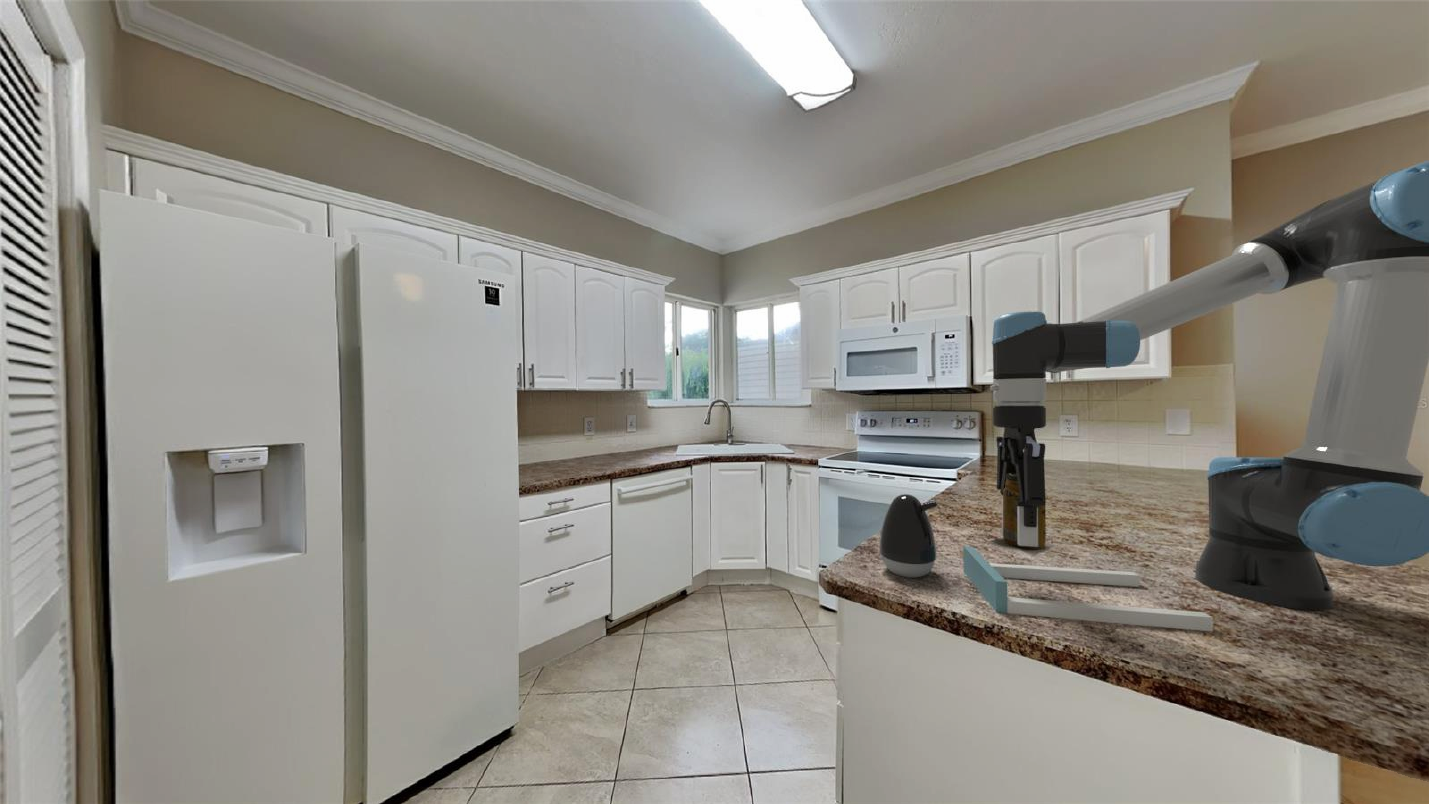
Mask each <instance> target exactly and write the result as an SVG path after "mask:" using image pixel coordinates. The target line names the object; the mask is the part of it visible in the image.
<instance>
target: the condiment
mask: <svg viewBox="0 0 1429 804" xmlns="http://www.w3.org/2000/svg"><path fill="white" fill-rule="evenodd" d="M1005 477H1006V483H1005V486H1006V487H1005V489H1004V490H1003V495H1002V496H1003V533H1002V537H999V538H995V539H992V540H989V541H986V542H985V543H986V544H989V545H991V546H995V547H999V548H1002V549H1006V550H1008V551H1012V552H1018V553H1021V554H1027V555H1031V556H1036V555H1038V554H1040V553H1042V552H1045V551H1048V550H1051V549H1052V548H1054V547H1056V546H1057V545H1056V544H1052V543H1047V542H1046V536H1047V535H1046V534H1047V533H1046V532H1047V530H1046V529H1047V528H1046V526H1047V525H1046V516H1047V515H1046V511H1047V510H1046V505H1047V504H1045V506H1040V507H1038V547H1034V546H1019V545H1018V538H1017V506H1016V505H1015V503H1017V502H1020V497H1019V490H1018V482H1017V474H1016V473H1008V474H1006V476H1005ZM1046 500H1047V499H1046V497H1045V501H1046ZM1046 502H1047V501H1046Z"/></svg>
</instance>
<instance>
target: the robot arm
mask: <svg viewBox="0 0 1429 804" xmlns="http://www.w3.org/2000/svg"><path fill="white" fill-rule="evenodd" d="M1321 279H1327V280H1329V281H1330V282H1331V283H1333V284H1334V285H1335V286H1336V291H1335V295H1334V301H1333V306H1332V310H1331V315H1330V317H1329V318H1330V319H1329V323H1328V328H1327V332H1326V333H1327V334H1326V337H1325V342H1324V346H1323V350H1322V355H1321V361H1320V365H1319V369H1318V373H1317V378H1316V382H1315V383H1316V384H1315V388H1314V391H1313V398H1312V401H1311V406H1310V410H1309V415H1308V419H1307V424H1306V428H1305V433H1304V437H1303V438H1304V439H1303V442H1302V445H1301V446H1300V447H1298V448H1296V449H1294V450H1292V451H1289V452H1287V453H1285V454H1284V455H1283V457H1249V456H1248V457H1241V456H1240V457H1239V456H1238V457H1236V456H1233V457H1231V456H1230V457H1229V456H1228V457H1223V456H1221V457H1215V458H1213V459H1212V460H1211V461H1210V463H1209V466H1208V473H1207V475H1206V479H1207V482H1208V524H1209V525H1208V533H1209V534H1208V535H1209V536H1208V540H1207V543H1206V544H1205V547H1204V548H1203V550H1202V553H1201V555H1200V557H1199V560H1198V561H1197V563H1196V565H1195V570H1194V571H1195V579H1196V581H1197V582H1198V583H1200V584H1201V585H1204V586H1205V587H1208V588H1210V589H1212V590H1215V591H1217V592H1220V593H1223V594H1226V595H1229V596H1233V597H1236V598H1239V599H1244V600H1248V601H1252V602H1256V603H1261V604H1264V605H1270V606H1277V607H1283V608H1285V609H1293V610H1301V611H1302V610H1303V611H1325V610H1330V609H1332V608H1333V607H1334V591H1333V589H1332V587H1331V586H1330V584H1329V582H1328V579H1327V576H1326V575H1325V572H1324V570H1323V568H1322V567H1321V565H1320V563H1319V560H1318V558H1317V556H1316V554H1319V555H1321V556H1323V557H1326V558H1329V559H1336V560H1338V561H1344V562H1348V563H1350V564H1355V565H1359V566H1363V567H1365V566H1366V567H1374V568H1375V567H1378V568H1379V567H1383V568H1384V567H1393V566H1401V565H1403V564H1404V565H1405V564H1406V563H1408V562H1411V561H1413V560H1418V559H1421V558H1423V557H1424V556H1426V555H1428V554H1429V495H1427V494H1426V493H1425V492H1422V490H1421V488H1422V484H1423V478H1424V473H1423V472H1422V471H1421V470H1419V468H1417V467H1416V466H1414V465H1413V464H1412V463H1410V462H1409V461H1408V458H1407V455H1408V452H1409V447H1410V443H1411V438H1412V434H1413V430H1414V425H1415V421H1416V417H1417V411H1418V408H1419V403H1420V399H1421V394H1422V391H1423V386H1424V381H1425V377H1426V373H1427V369H1428V364H1429V160H1426V161H1423V162H1421V163H1417V164H1415V165H1412V166H1409V167H1406V168H1402V169H1399V170H1394V171H1392V172H1389V174H1386V175H1384V176H1383V177H1381V178H1380V179H1378V180H1376V181H1373V182H1371V183H1369V184H1366V185H1364V186H1361V187H1359V188H1357V189H1354V190H1352V191H1349V192H1347V193H1344V194H1342V195H1340V196H1338V197H1335V198H1332V199H1330V200H1328V201H1324V202H1323V203H1320V204H1317V205H1316V206H1314V207H1312V208H1310V209H1309V210H1307V211H1305V212H1303V213H1301V214H1299V215H1296V217H1294V218H1292V219H1290V220H1288V221H1286V222H1285V223H1282V224H1281V225H1279V226H1278V227H1275V228H1274V229H1272V230H1269V231H1268V232H1266V233H1264V234H1261V236H1258V237H1256V238H1253V239H1251V240H1249V241H1247V242H1245V243H1243V244H1240V245H1238V246H1237V247H1235V249H1234V251H1233V252H1232V254H1231V255H1230V256H1227V257H1225V258H1222V259H1220V260H1218V261H1215V262H1214V263H1211V264H1208V265H1207V266H1204V267H1202V268H1200V269H1197V270H1195V271H1192V272H1190V273H1188V274H1186V275H1183V276H1181V277H1178V278H1176V279H1174V280H1171V281H1169V282H1166V283H1165V284H1163V285H1160V286H1158V287H1156V288H1153V289H1151V290H1149V291H1146V292H1143V293H1141V294H1139V295H1137V296H1135V297H1132V298H1130V299H1128V300H1125V301H1123V302H1121V303H1119V304H1116V305H1114V306H1112V307H1108V308H1107V309H1105V310H1102V311H1100V312H1098V313H1096V314H1092V315H1091V316H1089V317H1086V318H1083V319H1081V320H1078V321H1077V322H1070V323H1051V322H1050V323H1049V322H1048V321H1047V319H1046V315H1045V314H1044V312H1042V311H1029V310H1028V311H1017V312H1012V313H1006V314H1005V313H1004V314H1003V315H1000V316H997V318H995V320H994V321H993V331H992V341H991V345H992V370H993V373H992V375H993V377H992V378H993V381H992V385H990V386H989V389H990V391H993V397H992V398H993V402H994V403H997V405H994V407H992V425H993V426H994V427H996V428H1003V434H1002V436H997V437H996V440H995V441H996V448H997V451H996V452H997V457H996V458H997V459H996V461H997V465H996V489H997V490H998V491H999V493H1000V495H1001V533H1002V534H1003V490H1004V489H1005V487H1006V486H1005V483H1006V477H1005V476H1006V474H1008V473H1016V474H1017V482H1018V490H1019V497H1020V502H1017V503H1015V505H1016V506H1017V538H1018V545H1019V546H1034V547H1038V507H1040V506H1045V504H1046V502H1047V501H1045V498H1046V480H1045V479H1046V477H1045V476H1046V475H1045V473H1046V471H1045V454H1046V443H1044V442H1043V443H1042V442H1041V443H1039V442H1037V438H1036V434H1035V433H1036V432H1035V430H1036V429H1043V428H1045V427H1046V426H1047V408H1046V407H1045V406H1044V405H1043V403H1045V402H1047V374H1046V373H1052V374H1059V373H1062V372H1067V371H1069V372H1070V371H1076V370H1084V369H1085V370H1086V369H1098V368H1099V369H1100V368H1101V369H1103V368H1105V369H1110V368H1119V367H1120V368H1121V367H1128V366H1129V365H1131V364H1132V363H1133V362H1135V360H1136V359H1137V357H1138V355H1139V353H1140V349H1141V341H1142V340H1144V339H1148V338H1150V337H1153V336H1154V335H1157V334H1160V333H1162V332H1165V331H1167V330H1170V329H1173V328H1174V327H1178V326H1180V325H1182V324H1185V323H1187V322H1189V321H1192V320H1194V319H1196V318H1197V319H1198V318H1199V317H1202V316H1205V315H1207V314H1210V313H1212V312H1214V311H1215V312H1216V311H1217V310H1220V309H1222V308H1224V307H1227V306H1230V305H1232V304H1234V303H1237V302H1240V301H1243V300H1245V299H1247V298H1251V297H1252V296H1254V295H1257V294H1261V295H1272V294H1275V293H1278V292H1281V291H1284V290H1286V289H1289V288H1291V287H1295V286H1298V285H1300V284H1305V283H1309V282H1312V281H1316V280H1321ZM1046 505H1047V504H1046Z"/></svg>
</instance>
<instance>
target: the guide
mask: <svg viewBox="0 0 1429 804" xmlns="http://www.w3.org/2000/svg"><path fill="white" fill-rule="evenodd" d="M962 549H963V550H962V552H963V553H962V554H963V555H962V556H963V557H962V559H963V573H964V574H965V575H966V576H967V578H968V579H969V580H970V581H971V583H972V584H973V585H974V586H975V587H976V589H977V591H978V592H979V593H980V594H981V596H983V598H984V599H985V600H986V602H987V603H988V602H989V603H988V604H989V605H990V606H991V608H992V607H993V608H992V609H993V611H994V612H995V613H1001V612H1003V613H1004V614H1014V615H1024V616H1025V615H1026V616H1033V617H1034V616H1035V617H1043V618H1044V617H1046V618H1058V619H1067V620H1079V621H1088V622H1099V623H1111V624H1112V623H1113V624H1121V625H1134V626H1145V627H1157V628H1168V629H1178V630H1180V629H1182V630H1191V631H1201V632H1213V633H1214V618H1213V616H1211V615H1209V614H1207V613H1206V612H1202V611H1191V610H1178V609H1177V610H1176V609H1168V608H1167V609H1165V608H1154V607H1152V608H1151V607H1138V606H1128V605H1127V606H1126V605H1125V606H1124V605H1114V604H1102V603H1101V604H1100V603H1088V602H1087V603H1086V602H1077V601H1076V602H1073V601H1063V600H1049V599H1038V598H1037V599H1036V598H1035V599H1034V598H1022V597H1011V596H1008V581H1007V580H1006V578H1008V579H1020V580H1033V581H1050V582H1062V583H1063V582H1065V583H1079V584H1092V585H1106V586H1120V587H1121V586H1122V587H1132V588H1133V587H1134V588H1140V575H1139V574H1137V573H1135V572H1134V571H1122V570H1121V571H1119V570H1104V569H1103V570H1102V569H1088V568H1087V569H1086V568H1072V567H1056V566H1041V565H1026V564H1025V565H1024V564H1023V565H1022V564H1009V563H1007V564H1005V563H994V562H993V563H992V562H991V563H990V562H988V561H987V560H986V559H985V558H984V557H983V556H982V555H981V554H980V553H979V551H978V550H976V549H975V547H974V546H969V545H963V546H962ZM1003 613H1002V614H1003Z"/></svg>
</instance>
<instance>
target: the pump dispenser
mask: <svg viewBox="0 0 1429 804" xmlns="http://www.w3.org/2000/svg"><path fill="white" fill-rule="evenodd" d="M937 507H938V503H937V501H935V500H933V501H929V502H922V503H921V501H920V500H919V499H918V498H917V497H916V496H914V495H911V494H907V493H905V494H900V495H898V496H896V497H895V498H894V499H893V500H892V501H891V503H890V505H889V507H888V509H887V511H886V514H885V516H884V520H883V522H882V526H881V530H880V531H881V532H880V535H879V537H880V538H879V549H878V550H879V554H880V555H881V559H882V561H883V564H884V565H885V566H886V568H887V569H888V570H889V571H890V572H892V573H893V574H895V575H896V576H898V577H899V576H900V577H904V578H912V579H914V578H916V579H918V578H921V577H924V576H926V575H927V574H929V573H930V572H931V571H932V569H933V567H934V564H935V562H936V561H937V557H938V556H937V554H938V553H937V546H936V539H935V533H934V530H933V527H932V526H933V525H932V523H931V521H930V518H929V516H928V513H927V511H928V510H931V509H934V508H937Z"/></svg>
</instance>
